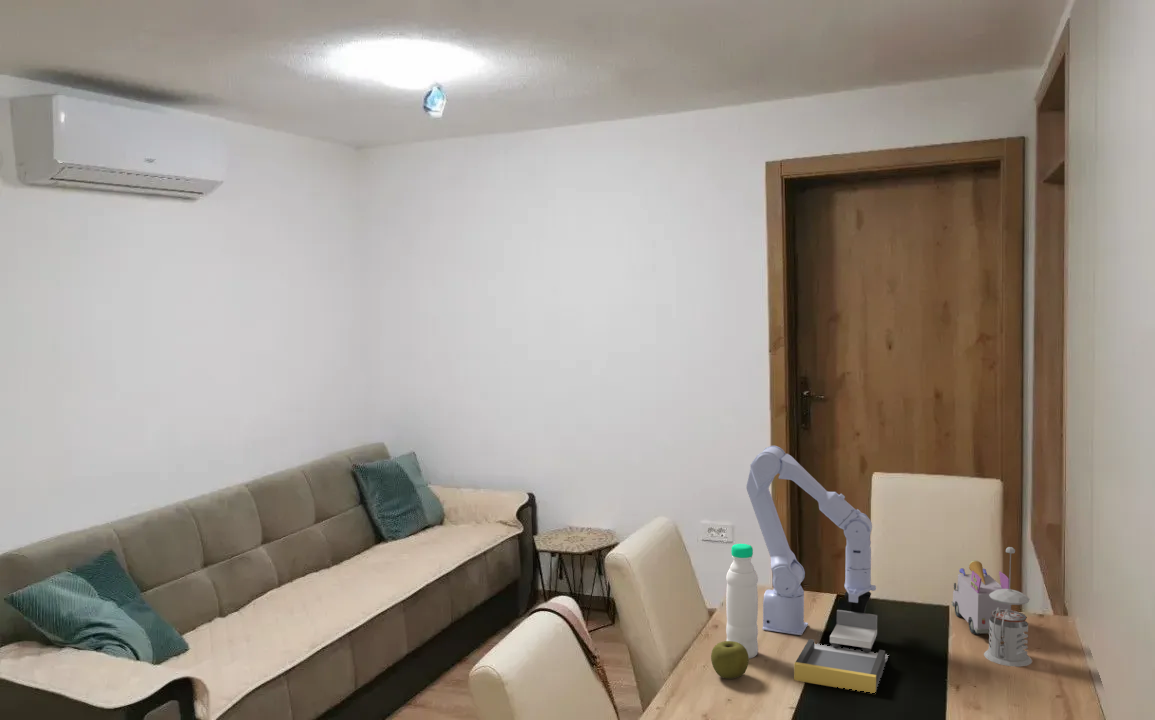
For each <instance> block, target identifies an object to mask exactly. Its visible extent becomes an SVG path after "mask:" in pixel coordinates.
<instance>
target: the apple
mask: <svg viewBox="0 0 1155 720" xmlns="http://www.w3.org/2000/svg"><path fill="white" fill-rule="evenodd" d="M710 654H711V655H710V659H711V664H712V667H713V669H714V671H715V673H716V675H718V676H719V677H720V678H722V679H727V680H728V679H729V680H730V679H737V678H740V677H742V676H744V675H745V673H746V671H747V669H748V667H749V656H748V653H747V650H746V648H745V647H744V646H743V645H742V644H740V643H738V642H734V641H726V640H725V641H720V642H718V643H716V645H714V646H713V648H712V650H711V653H710Z"/></svg>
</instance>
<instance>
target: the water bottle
mask: <svg viewBox="0 0 1155 720" xmlns="http://www.w3.org/2000/svg"><path fill="white" fill-rule="evenodd" d="M730 549H731V552H730V553H731V558H732V559H733V561H732V563H731V564H730V567H729V569H728V571H727V572H726V576H725V578H726V579H725V580H726V583H727V584H726V590H725V592H726V596H725V598H726V599H725V602H726V604H725V606H726V608H725V609H726V624H725V625H726V626H725V633H726V640H725V641H734V642H738V643H740V644H742V645H743V646H744V647H745V648H746V650H747V653H748V656H749V659H753V658H755V657H756V656H757V655H758V653H759V652H758V651H759V648H758V646H759V645H758V635H759V632H758V631H759V629H758V615H759V614H758V611H759V609H758V608H759V603H758V601H759V595H758V583H759V577H758V574H757V572H756V570H755V567H754V564H753V563H752V559H753V555H754V554H753V553H754V552H753V551H754V549H753V546H752V545H750V544H748V543H735V544H733V545H732V546H731V548H730Z"/></svg>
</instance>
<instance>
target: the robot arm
mask: <svg viewBox="0 0 1155 720" xmlns="http://www.w3.org/2000/svg"><path fill="white" fill-rule="evenodd" d="M749 466H750V469H749V474H748V478H747V482H746V485H745V486H746V491H747V495H748V497H749V499H750V504H751V505H752V509H753V511H754V514H755V517H756V519H757V522H758V525H759V529H760V530H761V534H762V536H763V540H764V542H765V545H766V548H767V551H768V554H769V557H770V569H771V573H772V580H771V582H772V583H771V585H772V588H773V589H766V590H765V592H764V594H763V603H762V630H763V631H769V632H777V633H782V634H789V635H795V636H802V635H803V634H804V632H805V631H806V629H807V627H808V626H809V623H808V622H805V621H804V620H805V617H804V616H805V591H804V589H803V587H802V585H801V583H802V582H803V581H804V580H805V574H806V572H805V569H804V567H803V565H802V564H801V563H800V562H799V561H798V559H797V557H796V555H795V553H794V552H793V551H792V550H791V547H790V546H789V545H790V544H789V542H788V539H787V537H786V534H785V531H784V529H783V526H782V523H781V520H780V517H779V513H778V512H777V511H778V510H777V508H776V506H775V502H774V499H773V497H772V495H771V492H770V489H769V488H770V486H771V484H772V482H773V481H774V479H775V477H776V476H777V475H778V474H779V476H778V477H777V478H778V479H779V480H786V481H787V480H790V481H792V482H794V483H795V484H796V485H797V486H798V487H800V488H801V489H802V490H803V491H805V493H807V494H808V495H810V497H812V498H813V499H815V501H817V503H818V509H819V511H820V512H821V513H822V514H824V515H825V517H827V518H828V519H829V520H830V521H831V522H833V523H834V524H835V525H836V526H837V527H838V528H839V529H841V530H843V535H844V536H845V539H846V540H845V541H846V545H845V567H844V568H845V575H844V576H845V578H844V579H845V581H844V586H843V587H844V589H845V592H844V599H845V600H846V602H847V604H848V606H849V611H851V612H859V613H866V610H867V609H866V608H867V604H868V602H869V600H870V598H871V596H872V593H871V591H872V592H875V591H876V589H877V586H876V585H873V584H871V583H872V582H871V581H872V578H871V577H872V576H871V575H872V547H871V543H872V542H871V534H872V530H873V524H872V520H871V519H870V518H869V517H868V515H867V514H866V513H863V512H861V510H859V508H857V509H856V508H854V507H853V506H852V505H851V503H849V502H847V500H846V499H845V498H846V496H845V495H844V494H843V493H840V494H839V493H837V491H828V490H827V489H825V487H824V486H823V485H822V484H821V483H820V482H818V481H817V480H816V478H814V477H813V476H812V474H810V473H809V472H808V471H807V470H806V469H805V468H804V467H803V466H802V465H801V464H800V463H799V462H798V461H797V460H796V459H795V458H794V457H793V456H792V455H790V454H789V453H786V452H785V450H784V449H783V448H781V447H779V446H777V445H769V446H768V447H765V448H764V449H763V451H762V452H759V453H758V454H757V455H756V456H755V458H754V459H753V460H752V462H751V464H750V465H749Z"/></svg>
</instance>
